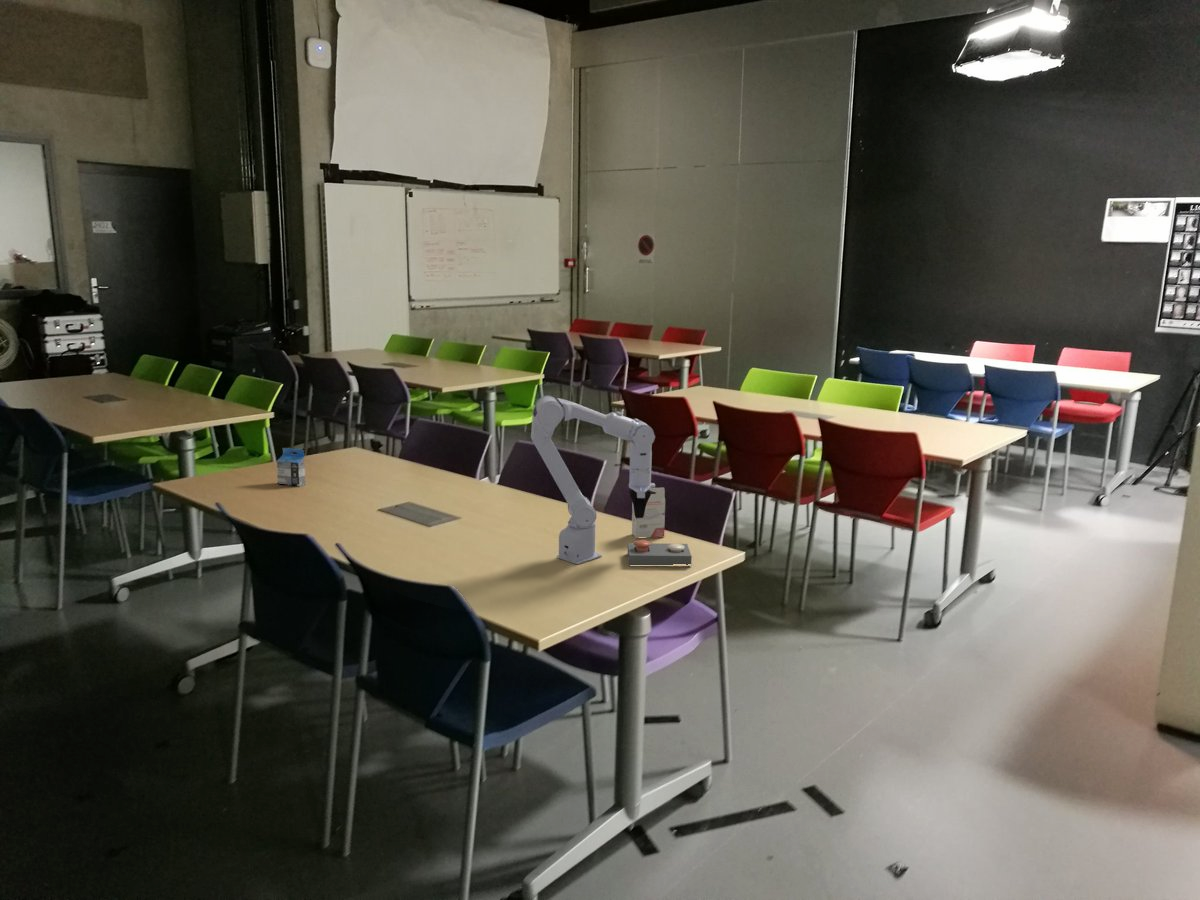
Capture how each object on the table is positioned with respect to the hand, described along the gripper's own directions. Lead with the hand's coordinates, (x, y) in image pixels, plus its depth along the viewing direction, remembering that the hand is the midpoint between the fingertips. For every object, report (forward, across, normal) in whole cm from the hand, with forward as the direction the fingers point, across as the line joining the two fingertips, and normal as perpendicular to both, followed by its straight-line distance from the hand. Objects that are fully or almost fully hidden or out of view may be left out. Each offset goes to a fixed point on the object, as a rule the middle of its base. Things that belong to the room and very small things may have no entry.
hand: (639, 517), depth 234 cm
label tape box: (+10, +66, +116) cm, 135 cm away
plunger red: (+9, -5, -1) cm, 10 cm away
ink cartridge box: (+11, +17, -3) cm, 20 cm away
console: (+10, -4, -5) cm, 13 cm away
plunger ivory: (+10, -4, -10) cm, 15 cm away
